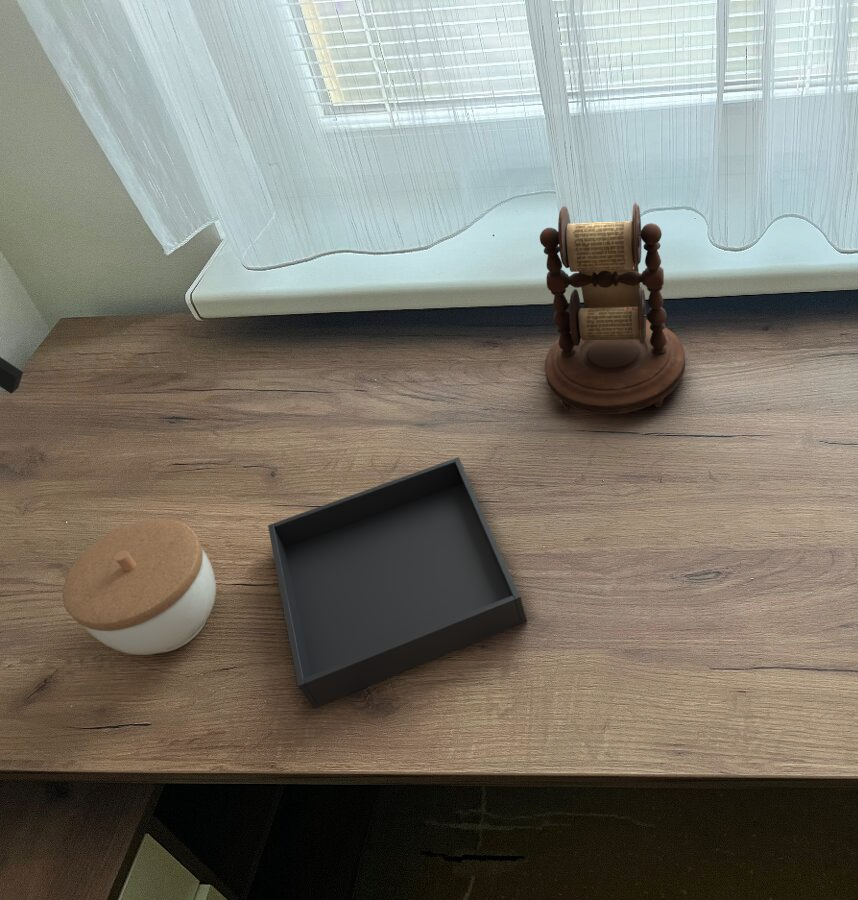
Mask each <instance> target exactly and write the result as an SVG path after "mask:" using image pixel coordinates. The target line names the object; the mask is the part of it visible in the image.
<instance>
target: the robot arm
mask: <svg viewBox="0 0 858 900" xmlns="http://www.w3.org/2000/svg"><path fill="white" fill-rule="evenodd" d="M23 374H24V371H22V369H19V368H18V367H16V366H14V365H13V364H12V363H11V362H9V361H8V360H6V359H5V358H3V357H1V356H0V388H2V389H3V390H5V391H6V392H8V393H9V394H13V393H14V392H15V391H16V390H17V389H19V386H20V383H21V381H22V377H23Z"/></svg>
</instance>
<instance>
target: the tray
mask: <svg viewBox="0 0 858 900" xmlns="http://www.w3.org/2000/svg"><path fill="white" fill-rule="evenodd" d="M267 528H268V534H269V538H270V543H271V549H272V554H273V560H274V566H275V571H276V576H277V581H278V588H279V593H280V598H281V604H282V609H283V613H284V619H285V624H286V630H287V635H288V640H289V646H290V651H291V657H292V663H293V667H294V673H295V678H296V684H297V687H298V689H299V691H300V692H301V693H302V695H303V697H304V698H305V700H306V701H307V702H308V704H309V705H310V707H311V708H312V709H315V708H318V707H320V706H323V705H325V704H328V703H330V702H332V701H335V700H338V699H340V698H343V697H345V696H347V695H350V694H353V693H355V692H357V691H360V690H362V689H364V688H367V687H369V686H373V685H374V684H377V683H380V682H382V681H385V680H387V679H389V678H392V677H394V676H397V675H399V674H401V673H404V672H406V671H409V670H411V669H414V668H417V667H418V666H421V665H423V664H426V663H429V662H431V661H434V660H436V659H438V658H441V657H443V656H446V655H449V654H451V653H453V652H455V651H458V650H461V649H463V648H465V647H467V646H470V645H472V644H475V643H478V642H480V641H483V640H485V639H488V638H490V637H492V636H496V635H498V634H500V633H502V632H505V631H507V630H510V629H512V628H514V627H517V626H519V625H522V624H524V623H527V622H528V620H527V619H528V618H527V616H526V612H525V608H524V605H523V601H522V598H521V595H520V593H519V590H518V588H517V586H516V583H515V581H514V580H513V579H514V578H513V577H512V575H511V572H510V570H509V568H508V566H507V563H506V561H505V559H504V557H503V554H502V552H501V550H500V547H499V545H498V543H497V540H496V539H495V537H494V534H493V532H492V529H491V527H490V525H489V523H488V520H487V518H486V516H485V513H484V512H483V509H482V506H481V504H480V503H479V500H478V498H477V495H476V493H475V490H474V488H473V486H472V485H471V482H470V480H469V477H468V475H467V473H466V470H465V468H464V466H463V464H462V461H461V460H460V457H459V456H458V457H454V458H453V459H452V458H451V459H448V460H446V461H444V462H440V463H438V464H435V465H433V466H429V467H427V468H424V469H420V470H418V471H415V472H412V473H410V474H407V475H404V476H401V477H399V478H396V479H393V480H391V481H387V482H385V483H381V484H379V485H377V486H374V487H371V488H368V489H366V490H362V491H359V492H357V493H354V494H352V495H348V496H345V497H343V498H340V499H337V500H334V501H331V502H329V503H326V504H323V505H321V506H318V507H314V508H313V509H312V508H311V509H309V510H306V511H304V512H301V513H299V514H295V515H293V516H290V517H287V518H284V519H281V520H279V521H276V522H273V523H270V524H267Z"/></svg>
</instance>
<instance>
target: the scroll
mask: <svg viewBox="0 0 858 900" xmlns="http://www.w3.org/2000/svg"><path fill="white" fill-rule="evenodd" d="M631 216H632V217H631V218H632V219H631V220H623V221H622V220H621V221H600V222H599V221H597V222H596V221H595V222H577V223H576V222H575V223H571V218H570V217H571V216H570V213H569V210H568V207H567V206H565V205H563V206H562V208H560V210H559V213H558V219H557V221H558V222H557V229H556V228H554V227H546V228H544V229H543V230H542V231H541V232H540V234H539V242H540V244H541V246H542V247H543V253H544V254H545V255H547V256H546V269H547V271H548V272H547V273H546V278H545V279H546V280H545V281H546V288H547V289H548V290H549V291H550V292H551V294H552V295H553V303H552V306H553V309H554V310H555V312H554V313H553V316H552V317H553V318H552V319H553V323H554V325H556V327H557V328H556V331H557V333H558V334H560V335H559V338H558V339H557V340H556V341H555V342H554V343H553V345H552V346H551V347H550V349H549V350H548V352H547V354H546V357H545V360H544V373H545V379H546V383H547V385H548V388H549V390H550V391H551V393H552V394H553V395H554V396H555V397H556V398H557V399H558V400H560V402H561V404H562V406H563V407H564V408H565V409H570V408H573V409H576V410H579V411H583V412H588V413H592V414H601V415H614V414H623V413H625V414H626V413H630V412H634V411H638V410H642V409H644V408H645V409H646V408H648V407H650V406H652V405H654V406H655V407H656V408H660V407H662V405H663V402H664V398H666V397H667V396H668V395H669V394H671V393H672V392H673V391H674V390H675V389H676V388H677V387H678V385H679V384H680V382H681V381H682V379H683V377H684V374H685V370H686V352H685V349H684V346H683V343H682V342H681V340H680V339H679V337H678V336H677V335H676V334H675V333H674V332H672V330H670V329H669V328H667V327H666V324H665V321H666V319H667V312H666V311H667V310H665V308H663V306H664V298H663V295H662V293H661V291H662V290H663V286H664V285H665V273H664V268H663V267H662V266H661V265H662V259H661V256H660V253H659V251H658V250H659V249H660V248H661V243H660V241H661V238H662V234H663V233H662V229H661V227H660V226H659V225H658V224H656V223H653V222H649V223H647V224H645V225H643V226H642V218H641V210H640V206H639V204H638V203H637V202H634V203H633V205H632V215H631ZM642 243H643V244H642ZM642 245H643V246H642ZM642 247H643V250H645V251H646V254H645V259H644V264H645V266H646V267H645V269H644V270H643V271H642V272H641V273H640V271H639V265H640V264H641V261H642ZM563 267H564V268H565V269H569V271H570V272H571V273H572V274H571V275H569V274H568V273H566V271H565V270H563ZM641 283H642V285H643V286H645V287H646V289H647V291H648V292H649V296H648V299H647V303H646V294H645V289H644V288H643V287H642V286H641ZM569 286H571V287H573V288H575V289H573V290H572V291H571V293H570V295H569V296H570V298H569V301H568V299H567V297H566V296H565V294H566V292H567V289H568V288H569ZM577 288H581V295H582V301H583V307H582V306H581V305H582V304H581V299H580V298H581V297H580V294H579V291H578V289H577ZM647 304H648V306H649V309H648V311H647ZM568 308H569V309H568Z"/></svg>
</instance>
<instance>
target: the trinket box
mask: <svg viewBox="0 0 858 900" xmlns="http://www.w3.org/2000/svg"><path fill="white" fill-rule="evenodd" d="M216 581H217V580H216V576H215V572H214V568H213V565H212V563H211V561H210V558H209V556H208V555H207V553H206V551H205V550H204V548H203V547H202V544H201V541H200V539H199V538H198V536H197V535H196V533H195V532H194V530H193V529H192V528H191V527H189V526H188V525H187V524H184V523H183V522H180V521H177V520H174V519H168V518H149V519H144V520H138V521H135V522H132V523H129V524H126V525H124V526H122V527H119V528H116V529H115V530H113V531H111V532H109V533H108V534H106V535H104V536H103V537H101V538H100V539H98V540H96V541H95V542H94V543H93V544H91V545H90V546H89V547H88V548H87V549H86V550H85V551H84V552H83V553H82V554H81V555H80V556H79V557H78V558H77V560H76V561H74V564H73V565H72V566H71V567H70V569H69V571H68V573H67V575H66V577H65V580H64V584H63V587H62V603H63V607H64V608H65V611H66V612H67V613H68V614H69V615H70V617H71V618H72V619H73V620H74V621H75V622H76V623H78V624H79V625H81V627H83V628H84V629H85V630H86V632H88V633H89V634H90V636H92V637H94V638H95V639H96V640H98V641H99V642H100V643H102V644H103V645H105V646H107V647H109V648H110V649H112V650H115V651H118V652H120V653H125V654H129V655H137V656H147V655H155V654H162V653H163V654H164V653H168V652H172V651H175V650H177V649H180V648H181V647H184V646H185V645H187V644H189V643H190V642H191V641H193V639H195V638H196V637H197V636H198V635H199V633H201V631H202V630H203V628H204V627H205V625H206V623H207V621H208V619H209V616H210V615H211V613H212V611H213V609H214V605H215V601H216V596H217V582H216Z"/></svg>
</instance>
